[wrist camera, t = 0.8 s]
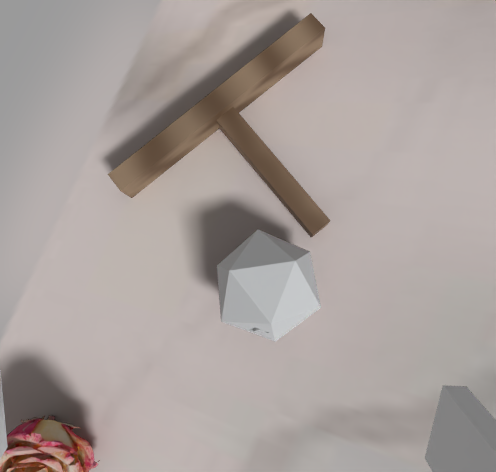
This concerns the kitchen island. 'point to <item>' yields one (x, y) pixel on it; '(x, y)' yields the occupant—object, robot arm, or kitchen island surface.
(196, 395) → the kitchen island surface
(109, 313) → the kitchen island surface
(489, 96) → the kitchen island surface
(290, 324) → the die
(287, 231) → the kitchen island surface
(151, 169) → the walnut T rail
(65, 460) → the flower
